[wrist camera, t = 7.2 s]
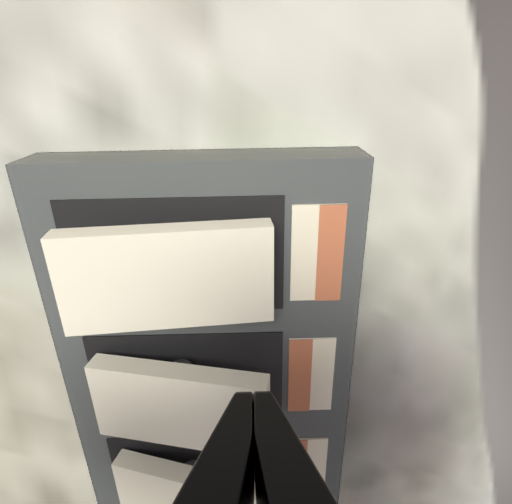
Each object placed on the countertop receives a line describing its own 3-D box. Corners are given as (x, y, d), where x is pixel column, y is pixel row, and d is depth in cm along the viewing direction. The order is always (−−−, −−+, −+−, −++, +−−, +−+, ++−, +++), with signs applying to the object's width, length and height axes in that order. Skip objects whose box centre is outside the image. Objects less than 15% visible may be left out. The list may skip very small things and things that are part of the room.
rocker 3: (271, 526, 21) (264, 556, 20) (137, 490, 23) (123, 515, 22) (271, 475, 20) (264, 504, 18) (127, 440, 22) (111, 464, 20)
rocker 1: (268, 301, 17) (273, 320, 16) (76, 315, 17) (65, 336, 15) (268, 213, 16) (273, 226, 14) (55, 224, 15) (40, 239, 14)
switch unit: (329, 473, 26) (337, 514, 24) (114, 479, 26) (101, 521, 24) (357, 146, 18) (375, 158, 15) (37, 152, 17) (2, 165, 15)
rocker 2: (271, 432, 19) (266, 461, 18) (116, 410, 20) (100, 434, 19) (271, 365, 17) (266, 391, 16) (102, 346, 19) (84, 367, 17)
